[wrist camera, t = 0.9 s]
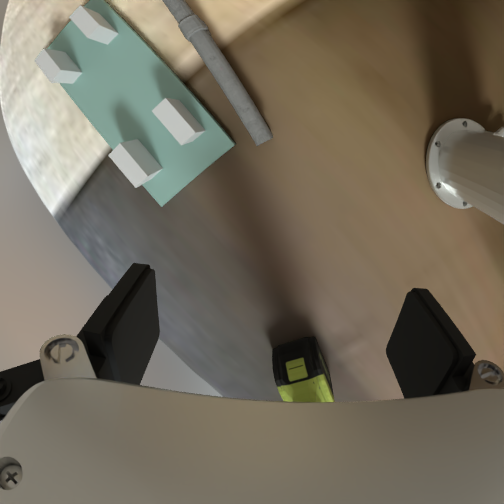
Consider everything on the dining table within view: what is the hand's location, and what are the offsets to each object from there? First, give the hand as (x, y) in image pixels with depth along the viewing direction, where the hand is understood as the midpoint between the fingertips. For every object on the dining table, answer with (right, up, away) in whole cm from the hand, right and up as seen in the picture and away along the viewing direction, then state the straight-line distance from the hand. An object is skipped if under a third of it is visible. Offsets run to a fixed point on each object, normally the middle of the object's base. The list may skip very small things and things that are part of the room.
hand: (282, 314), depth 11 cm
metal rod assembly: (-6, +26, +21) cm, 34 cm away
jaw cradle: (-17, +23, +23) cm, 36 cm away
